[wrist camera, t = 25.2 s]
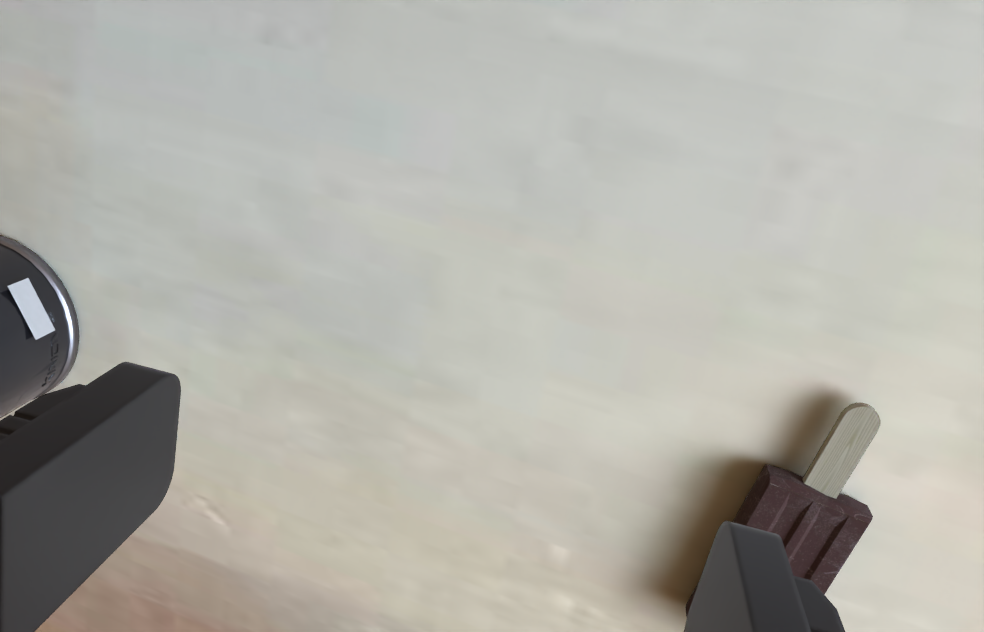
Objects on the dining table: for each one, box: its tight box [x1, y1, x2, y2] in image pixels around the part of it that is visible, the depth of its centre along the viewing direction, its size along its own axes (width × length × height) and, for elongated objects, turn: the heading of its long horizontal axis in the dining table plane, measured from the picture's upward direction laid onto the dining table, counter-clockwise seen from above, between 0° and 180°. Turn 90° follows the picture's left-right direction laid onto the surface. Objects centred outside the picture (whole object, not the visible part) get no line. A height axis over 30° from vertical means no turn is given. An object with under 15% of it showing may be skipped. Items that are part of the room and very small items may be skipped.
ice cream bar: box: [686, 403, 880, 616], centre depth 41 cm, size 5×2×15 cm
